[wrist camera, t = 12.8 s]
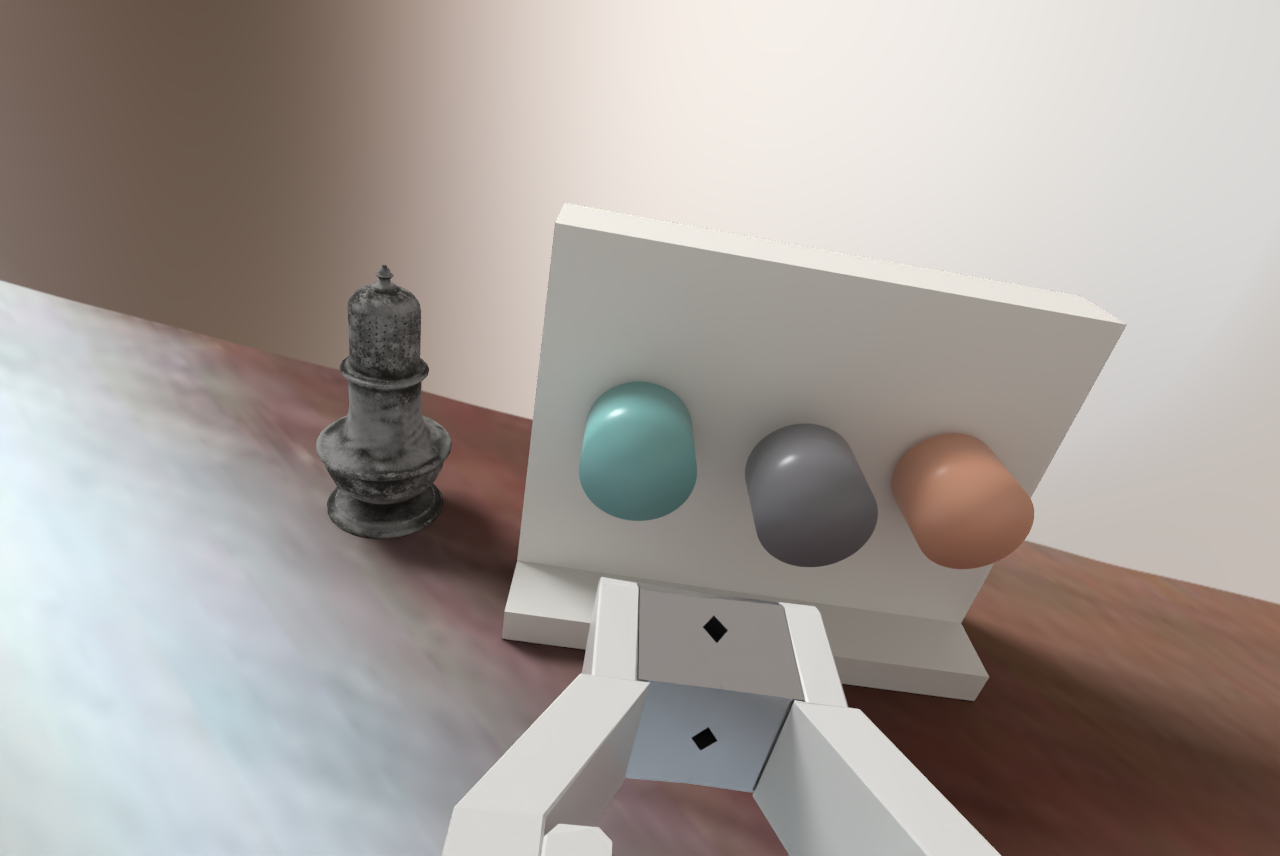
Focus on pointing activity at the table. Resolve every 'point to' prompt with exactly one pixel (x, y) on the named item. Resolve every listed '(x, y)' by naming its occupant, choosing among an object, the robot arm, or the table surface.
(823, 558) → the charcoal button
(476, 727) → the table surface
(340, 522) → the grey stone chess piece
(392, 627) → the table surface
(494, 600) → the table surface
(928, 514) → the terracotta button
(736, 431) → the console
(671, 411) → the teal button
